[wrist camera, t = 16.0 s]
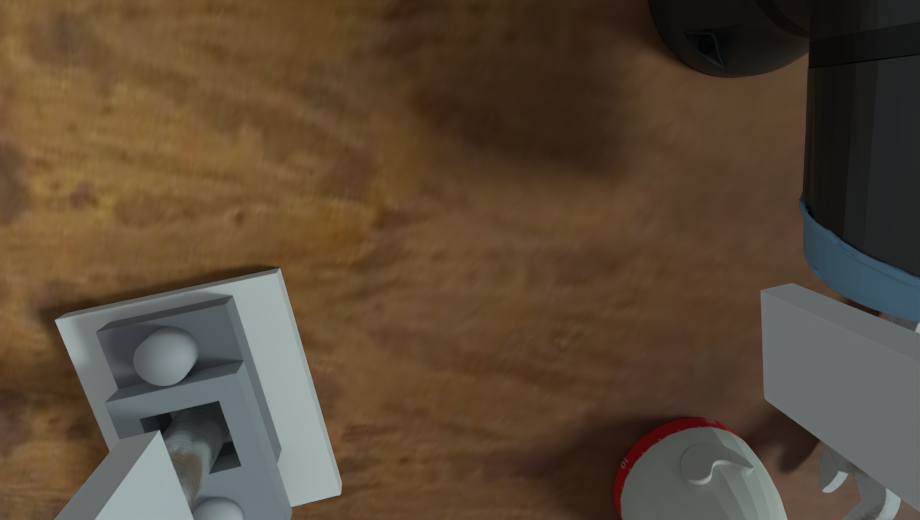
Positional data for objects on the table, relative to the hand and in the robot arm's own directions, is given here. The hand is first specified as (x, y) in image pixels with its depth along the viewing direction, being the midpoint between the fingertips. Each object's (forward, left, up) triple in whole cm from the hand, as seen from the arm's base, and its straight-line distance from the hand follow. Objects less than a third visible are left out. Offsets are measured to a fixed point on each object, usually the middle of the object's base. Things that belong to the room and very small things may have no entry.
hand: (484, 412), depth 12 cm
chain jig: (+13, -19, -32) cm, 39 cm away
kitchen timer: (+32, +20, -32) cm, 49 cm away
